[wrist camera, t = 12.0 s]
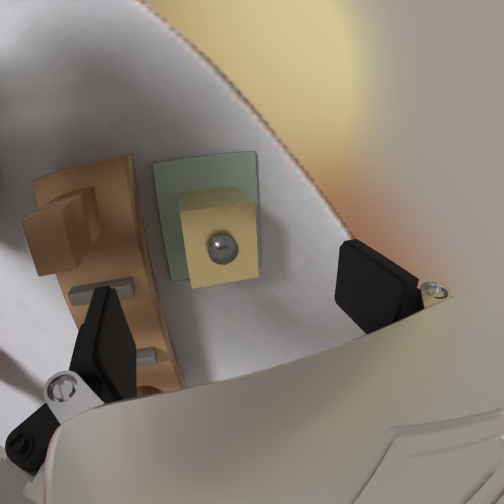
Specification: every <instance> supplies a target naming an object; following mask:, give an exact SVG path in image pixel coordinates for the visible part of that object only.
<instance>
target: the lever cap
mask: <svg viewBox="0 0 504 504" xmlns="http://www.w3.org/2000/svg"><path fill="white" fill-rule="evenodd" d="M178 200H179V208H180V216H181V224H182V231H183V238H184V245H185V251H186V258H187V264H188V270H189V276H190V282H191V287H192V289H194V288H200V287H206V286H212V285H218V284H224V283H229V282H235V281H240V280H246V279H251V278H257V277H259V274H258V253H257V231H256V210H255V202H254V201H253V200H252V199H250V198H249V197H248V196H246V195H245V194H244V193H242V192H241V191H239V190H238V189H237V188H235V187H234V186H229V187H221V188H212V189H204V190H197V191H189V192H182V193H178Z"/></svg>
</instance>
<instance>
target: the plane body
mask: <svg viewBox="0 0 504 504" xmlns="http://www.w3.org/2000/svg"><path fill="white" fill-rule="evenodd" d="M32 182H33V188H34V193H35V199H36V203H37V208H38V209H37V210H35V211H34V212H32V213H31V214H29V215H27V216H26V217H24V218H23V219H22V223H23V227H24V231H25V235H26V238H27V242H28V245H29V248H30V252H31V255H32V258H33V261H34V264H35V267H36V270H37V273H38V276H45V275H50V274H55V273H56V276H57V279H58V281H59V284H60V287H61V289H62V292H63V295H64V297H65V300H66V302H67V305H68V307H69V310H70V312H71V314H72V317H73V319H74V321H75V324H76V326H77V328H78V330H79V329H80V326H81V324H84V321H85V318H86V315H87V311H88V308H89V305H90V302H91V298H92V295H93V292H94V289H95V288H96V287H102V286H107V285H109V286H110V287H111V289H112V288H115V289H116V291H117V294H118V297H119V300H120V303H121V306H122V309H123V312H124V315H125V318H126V320H127V323H128V326H129V328H130V331H131V333H132V336H133V339H134V341H135V344H136V350H137V355H136V374H137V397H141V396H146V395H152V394H157V393H162V392H168V391H174V390H179V389H185V382H184V378H183V375H182V372H181V369H180V366H179V363H178V360H177V357H176V354H175V351H174V348H173V345H172V341H171V338H170V335H169V331H168V328H167V324H166V321H165V317H164V314H163V310H162V306H161V303H160V299H159V295H158V291H157V287H156V283H155V279H154V274H153V270H152V266H151V261H150V257H149V252H148V247H147V242H146V237H145V232H144V227H143V222H142V216H141V210H140V204H139V198H138V192H137V185H136V178H135V170H134V162H133V154H129V155H124V156H119V157H114V158H110V159H105V160H101V161H96V162H92V163H88V164H84V165H80V166H76V167H73V168H69V169H65V170H62V171H58V172H55V173H52V174H49V175H46V176H43V177H40V178H37V179H35V180H32Z"/></svg>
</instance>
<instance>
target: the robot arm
mask: <svg viewBox="0 0 504 504" xmlns="http://www.w3.org/2000/svg"><path fill="white" fill-rule="evenodd" d="M418 281H419V279H418V278H417V277H415V276H413V275H412V274H411V273H409V272H408V271H406V270H405V269H403V268H401V267H400V266H399V265H397V264H395V263H394V262H392V261H391V260H389V259H388V258H386V257H384V256H383V255H382V254H380V253H378V252H377V251H375V250H373V249H372V248H370V247H369V246H367V245H366V244H364V243H362V242H361V241H359V240H357V239H352V240H347V241H344V242H343V244H342V245H341V246H340V251H339V262H338V272H337V281H336V290H335V301H336V303H337V305H338V306H339V307H340V308H341V309H342V310H343V311H344V312H345V313H346V314H347V315H348V316H349V317H350V318H351V319H352V320H353V321H354V322H355V323H356V324H357V325H358V326H359V327H360V328H361V329H362V330H363V331H364V332H365V333H366V335H364V336H361V337H359V338H356V339H354V340H351V341H348V342H346V343H343V344H341V345H338V346H335V347H332V348H330V349H327V350H324V351H321V352H318V353H315V354H313V355H310V356H307V357H304V358H301V359H297V360H294V361H291V362H288V363H285V364H281V365H278V366H275V367H271V368H268V369H264V370H261V371H257V372H254V373H250V374H246V375H242V376H238V377H234V378H230V379H226V380H222V381H218V382H213V383H209V384H204V385H200V386H195V387H190V388H185V389H179V390H174V391H168V392H162V393H157V394H152V395H146V396H141V397H137V374H136V355H137V350H136V344H135V341H134V339H133V336H132V333H131V331H130V328H129V326H128V323H127V320H126V318H125V315H124V312H123V309H122V306H121V303H120V300H119V297H118V294H117V291H116V289H115V288H112V289H111V287H110V286H109V285H107V286H102V287H96V288H95V289H94V292H93V295H92V298H91V302H90V305H89V308H88V311H87V315H86V318H85V321H84V324H81V326H80V329H79V332H78V336H77V339H76V343H75V347H74V351H73V355H72V359H71V363H70V367H69V371H61V372H58V373H56V374H54V375H53V376H51V377H50V378H49V379H48V380H47V382H46V383H45V386H44V389H43V396H44V399H45V401H46V403H45V404H44V405H42V406H41V407H40V408H39V409H38V410H37V411H35V412H34V413H33V414H32V415H31V416H29V417H28V418H27V419H26V420H25V421H24V422H22V423H21V424H20V425H19V426H18V427H16V428H15V429H14V430H13V431H12V432H11V433H10V434H9V436H8V438H7V440H6V444H5V450H6V454H7V458H6V460H4V459H3V458H1V460H0V504H504V312H503V311H501V310H500V309H499V308H497V307H496V306H494V305H493V304H492V303H490V302H488V301H487V300H485V299H483V298H481V297H479V296H471V295H466V296H457V297H452V294H451V292H450V290H449V289H448V288H447V287H446V286H444V285H442V284H439V283H436V282H425V283H423V284H422V285H421V287H420V290H419V289H418V288H417V285H418Z"/></svg>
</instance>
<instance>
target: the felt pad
mask: <svg viewBox="0 0 504 504" xmlns="http://www.w3.org/2000/svg"><path fill="white" fill-rule="evenodd" d="M152 164H153V172H154V180H155V188H156V195H157V202H158V209H159V215H160V221H161V227H162V233H163V239H164V244H165V250H166V255H167V260H168V265H169V270H170V275H171V279H172V281H178V280H184V279H190V276H189V270H188V264H187V258H186V251H185V245H184V238H183V231H182V224H181V216H180V208H179V200H178V193H182V192H189V191H197V190H204V189H212V188H221V187H229V186H234V187H235V188H237V189H238V190H239V191H241V192H242V193H244V194H245V195H246V196H248V197H249V198H250V199H252V200H253V201H254V202H255V210H256V231H257V253H258V266H261V248H260V228H259V209H258V190H257V172H256V154H255V151H249V152H237V153H226V154H216V155H207V156H198V157H190V158H183V159H176V160H169V161H163V162H157V163H152Z"/></svg>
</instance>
